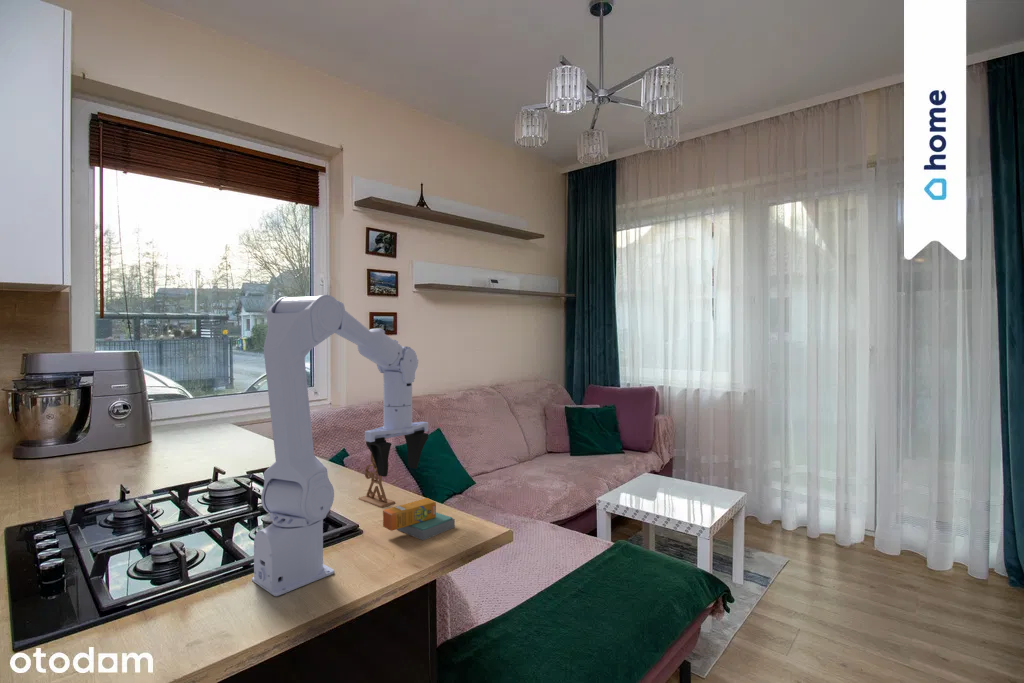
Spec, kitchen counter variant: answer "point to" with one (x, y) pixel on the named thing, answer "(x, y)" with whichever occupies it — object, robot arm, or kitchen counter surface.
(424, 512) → the supplement box
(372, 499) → the brown upright openwork piece
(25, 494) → the kitchen counter surface
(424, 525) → the podium
